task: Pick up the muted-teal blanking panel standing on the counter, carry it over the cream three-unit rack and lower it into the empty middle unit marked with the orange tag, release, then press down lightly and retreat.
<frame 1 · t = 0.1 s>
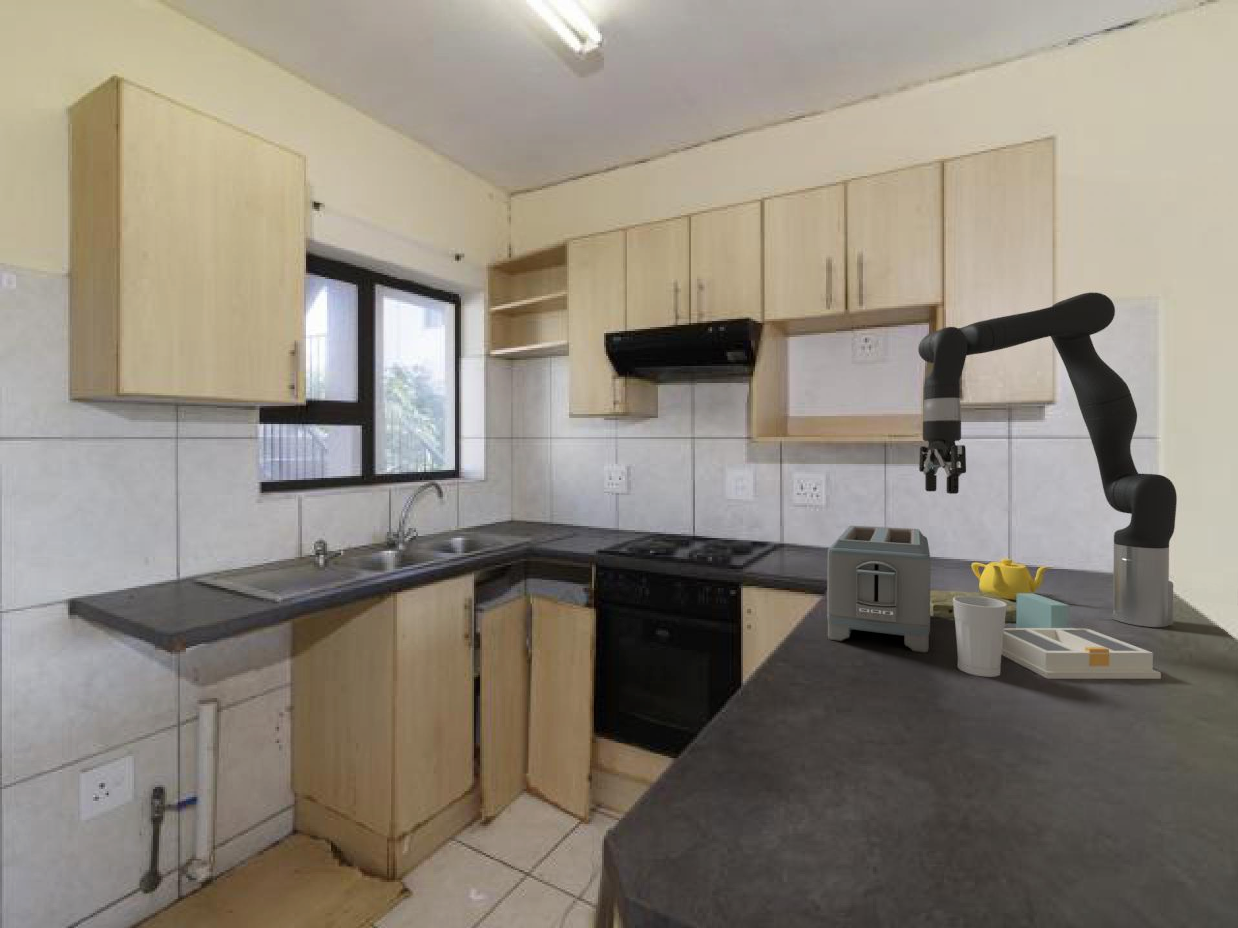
hand: (941, 492, 129), 29 cm above the worktop, fingers open, 8 cm apart
teapot: (1008, 597, 153), on the worktop
cup: (978, 670, 101), on the worktop
decorative tile: (964, 612, 140), on the worktop
panel: (1041, 637, 119), on the worktop
toaster: (879, 630, 125), on the worktop
rack: (1067, 661, 105), on the worktop
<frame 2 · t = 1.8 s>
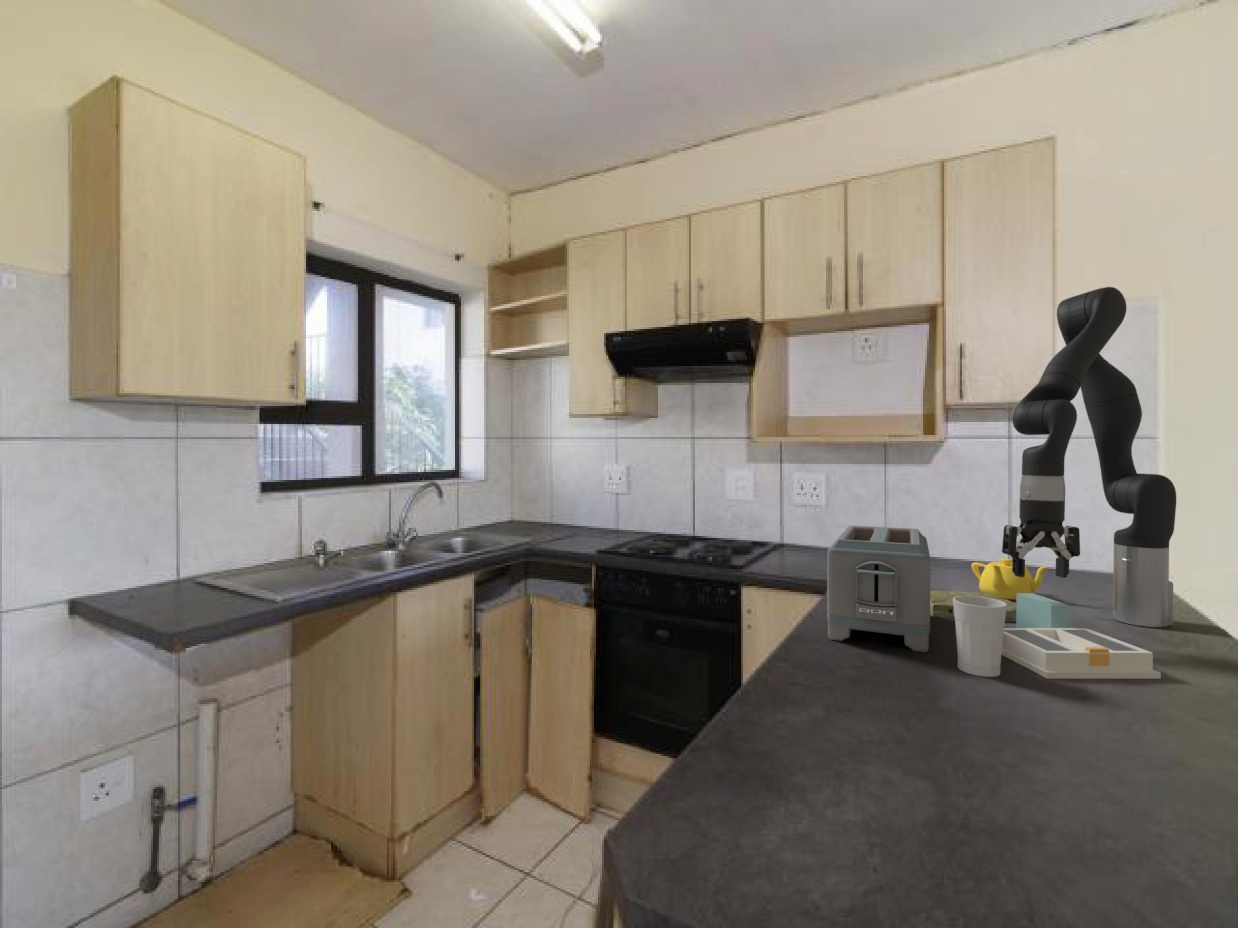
hand: (1040, 576, 119), 12 cm above the worktop, fingers open, 8 cm apart
nothing on the worktop moved.
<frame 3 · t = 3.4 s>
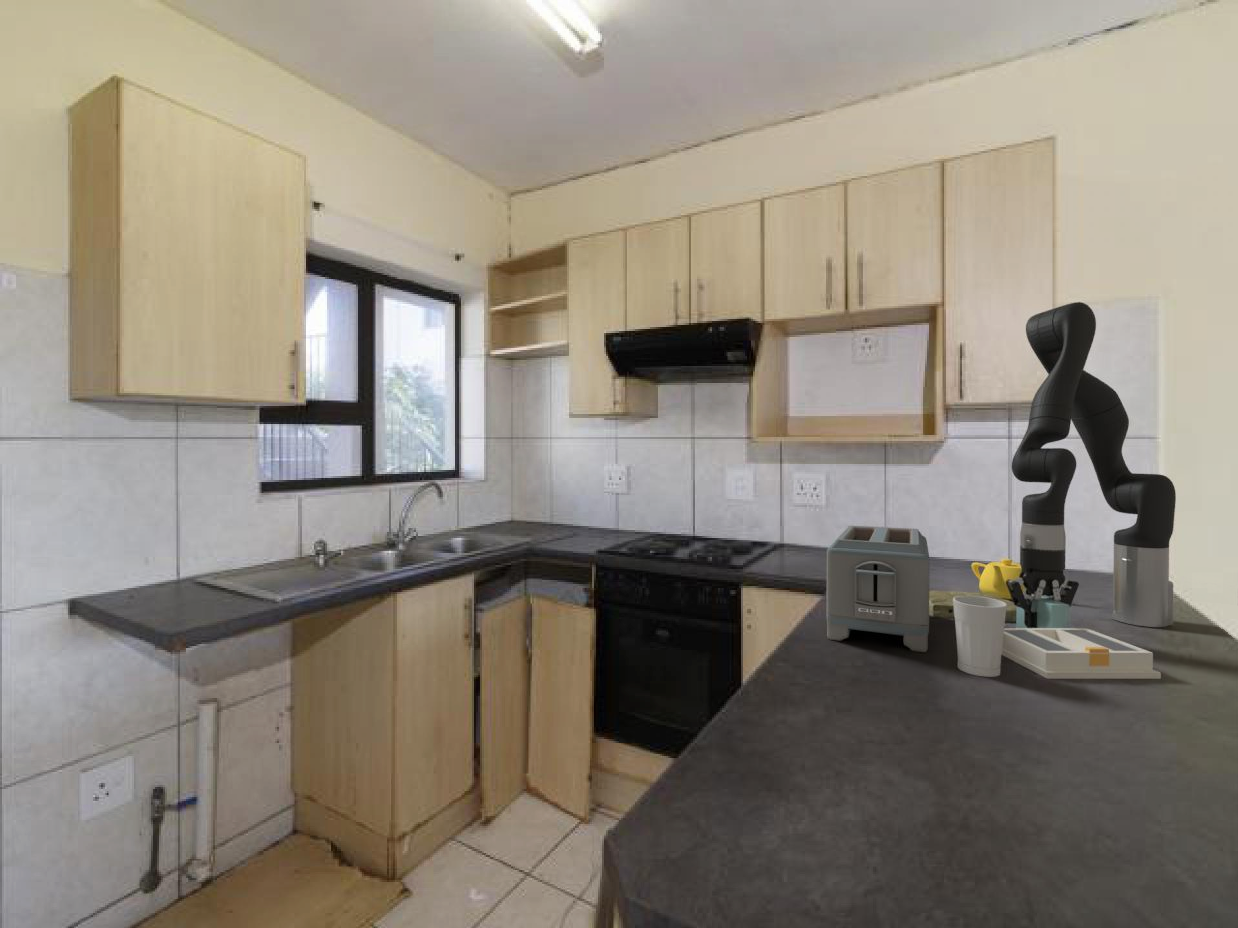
hand: (1041, 628, 119), 2 cm above the worktop, fingers closed on panel, 3 cm apart
panel: (1041, 637, 119), on the worktop, touching gripper
everything else where it was.
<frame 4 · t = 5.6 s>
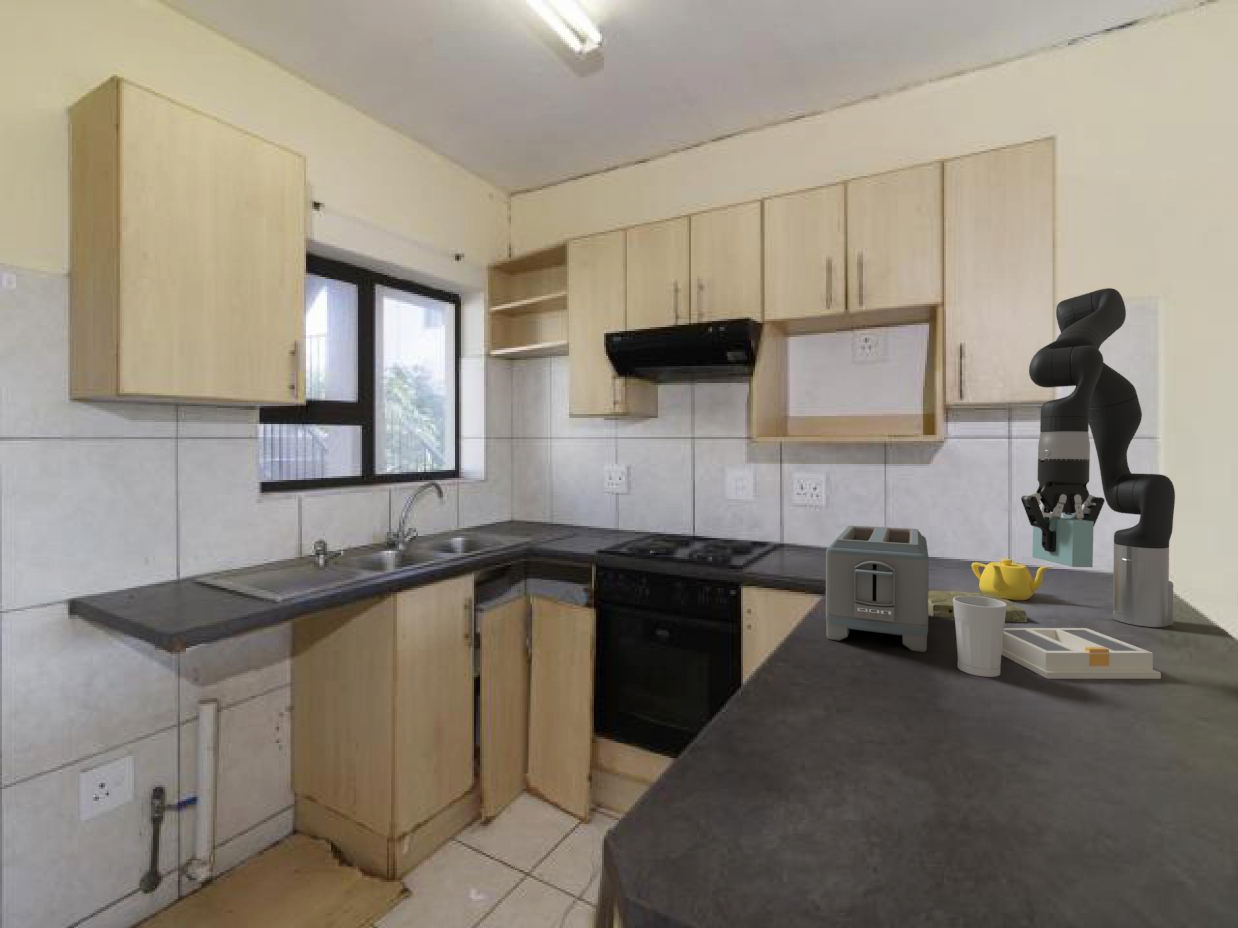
hand: (1061, 551, 106), 20 cm above the worktop, fingers closed on panel, 3 cm apart
panel: (1061, 561, 106), point 18 cm above the worktop, touching gripper
everything else where it was.
when the fingers open (5 cm above the worktop, at t = 8.0 s): panel drops 2 cm, resting on rack.
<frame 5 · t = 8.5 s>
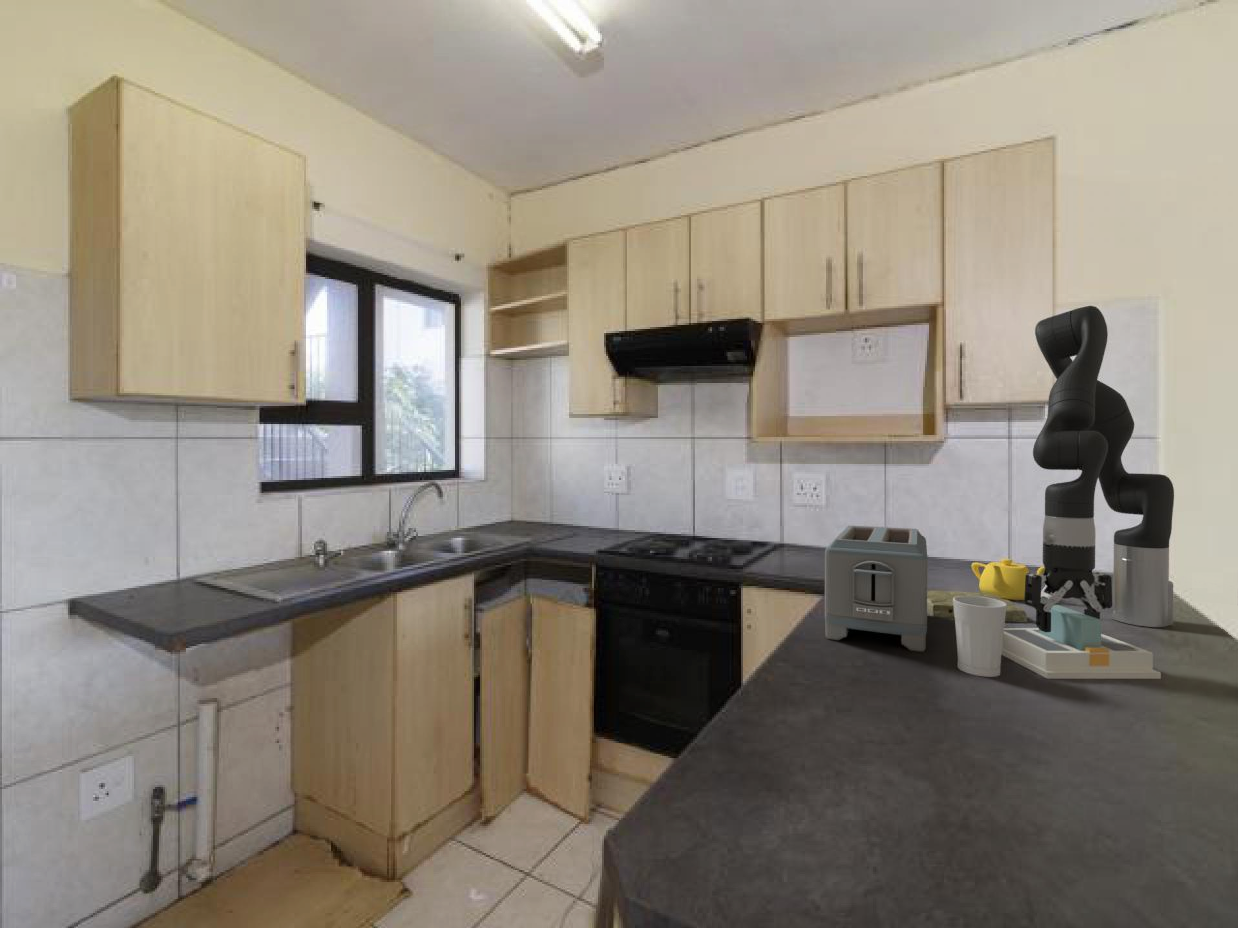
hand: (1067, 631, 105), 6 cm above the worktop, fingers open, 8 cm apart
panel: (1068, 655, 105), point 1 cm above the worktop, touching rack
everything else where it was.
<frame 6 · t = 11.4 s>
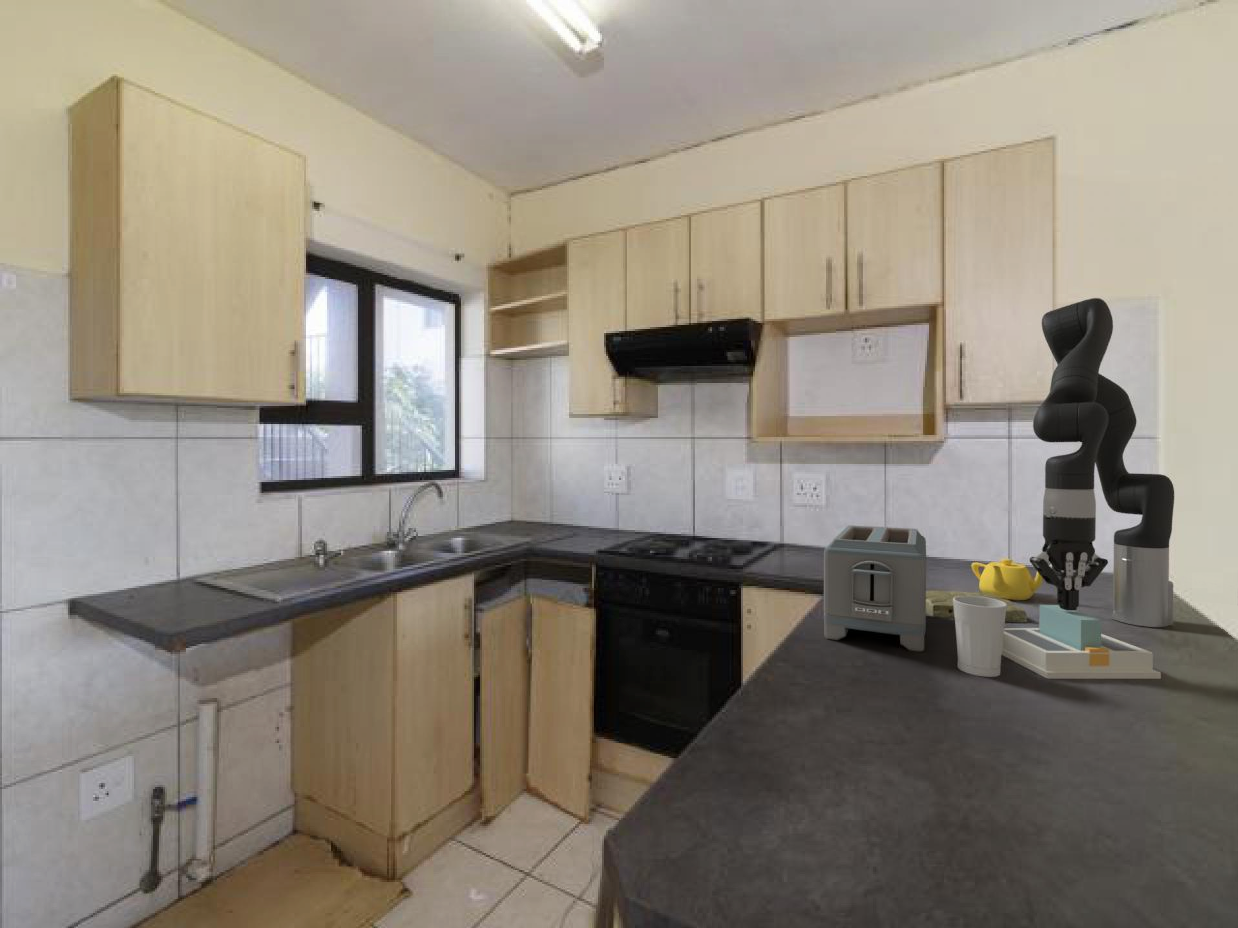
hand: (1067, 609, 105), 10 cm above the worktop, fingers closed
nothing on the worktop moved.
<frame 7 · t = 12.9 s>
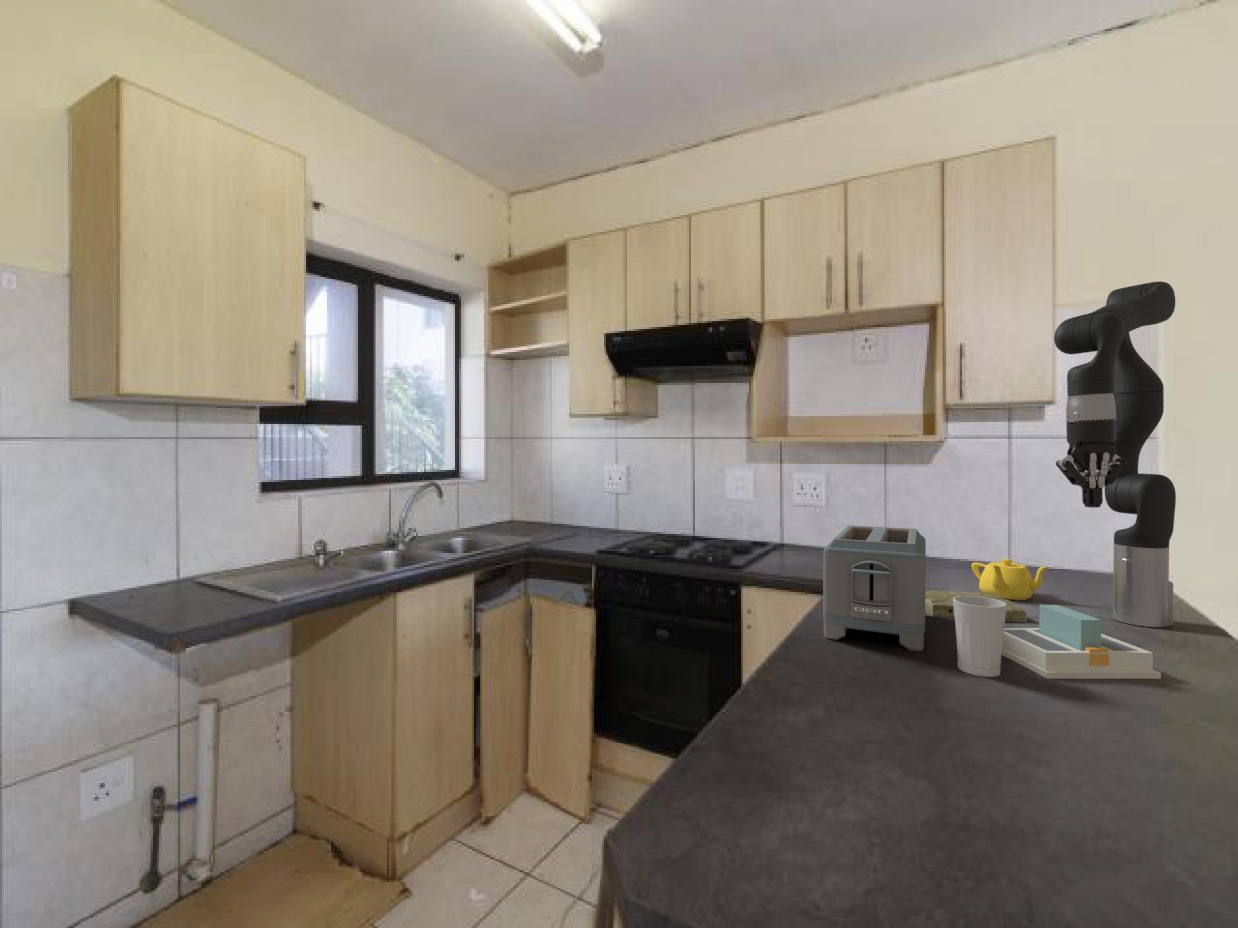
hand: (1092, 507, 114), 27 cm above the worktop, fingers closed
nothing on the worktop moved.
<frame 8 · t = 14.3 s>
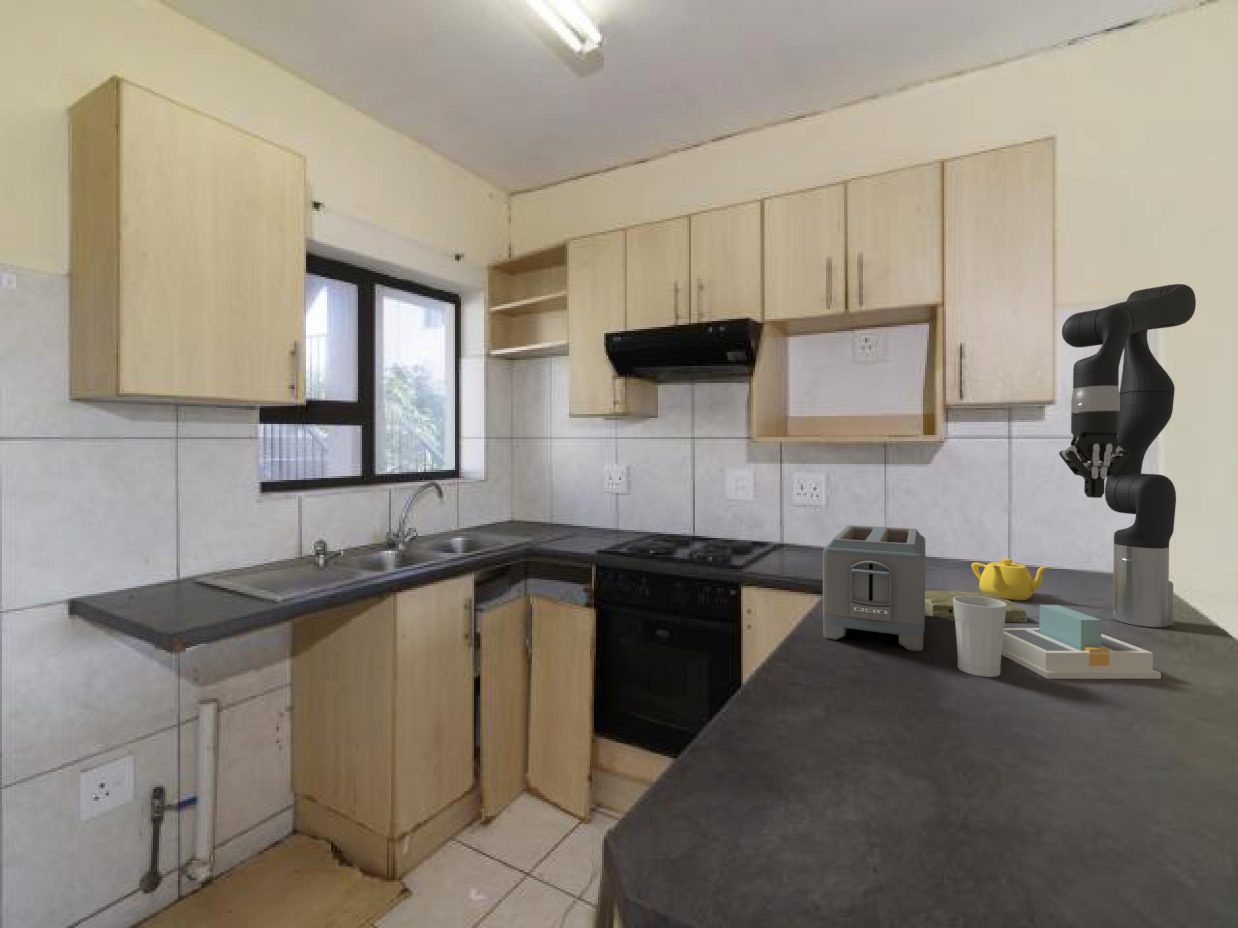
hand: (1094, 497, 116), 29 cm above the worktop, fingers closed
nothing on the worktop moved.
at the end: panel 0.2 cm off-centre on the rack, point 1.0 cm above the rack's base; panel tilted 0°; the gripper is holding nothing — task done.
